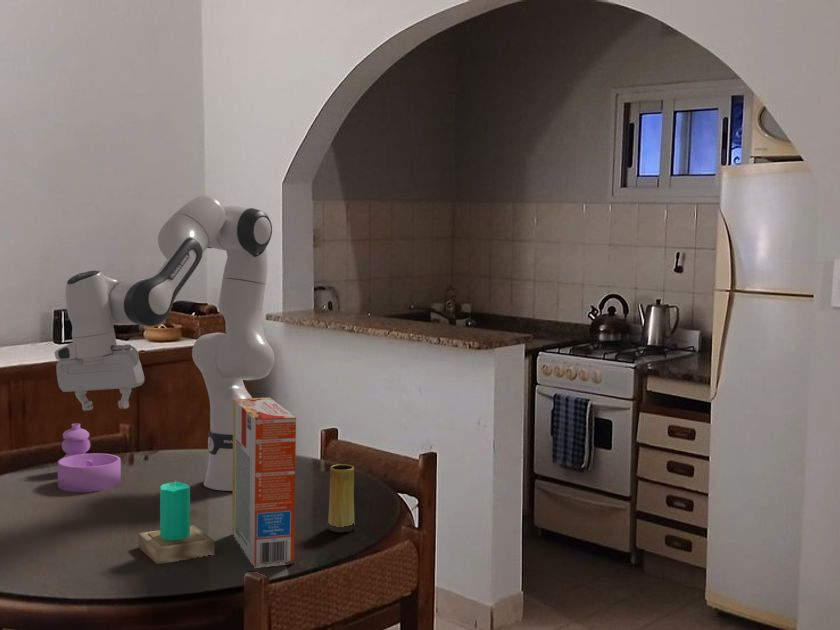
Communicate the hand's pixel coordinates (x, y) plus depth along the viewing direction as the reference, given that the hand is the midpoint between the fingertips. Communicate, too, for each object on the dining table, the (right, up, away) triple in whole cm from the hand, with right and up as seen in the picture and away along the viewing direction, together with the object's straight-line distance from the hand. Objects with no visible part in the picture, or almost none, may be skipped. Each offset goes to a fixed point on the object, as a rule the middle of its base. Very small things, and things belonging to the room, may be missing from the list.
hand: (106, 409), depth 221 cm
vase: (+51, -28, +6) cm, 58 cm away
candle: (+18, -25, -11) cm, 33 cm away
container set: (-19, -23, +43) cm, 52 cm away
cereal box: (+35, -29, -8) cm, 46 cm away
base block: (+18, -28, -11) cm, 35 cm away
